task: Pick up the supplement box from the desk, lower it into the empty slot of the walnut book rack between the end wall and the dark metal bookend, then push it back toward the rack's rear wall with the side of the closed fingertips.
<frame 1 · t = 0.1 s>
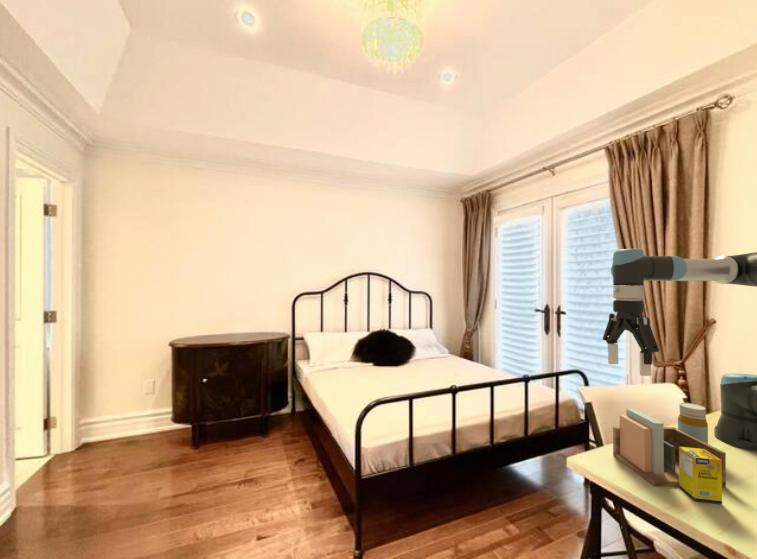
hand: (628, 369, 103), 28 cm above the table, fingers open, 13 cm apart
book rack: (664, 469, 98), on the table
bottle: (692, 453, 108), on the table
supplement box: (699, 496, 86), on the table
shelved books: (640, 439, 100), point 8 cm above the table
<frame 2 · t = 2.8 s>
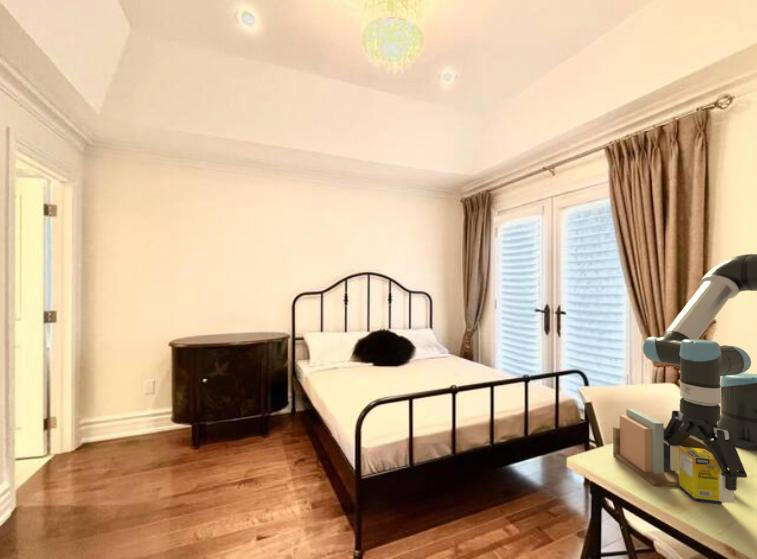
hand: (699, 484, 86), 3 cm above the table, fingers open, 13 cm apart
nothing on the table moved.
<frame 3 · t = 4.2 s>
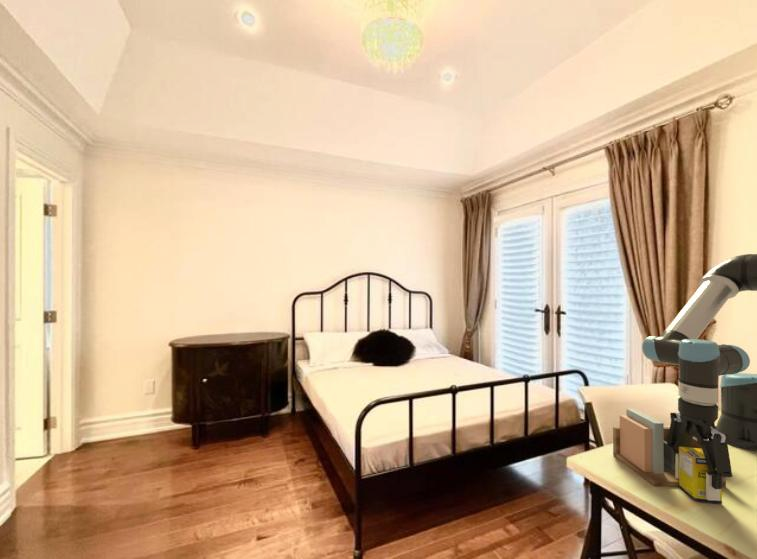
hand: (696, 488, 87), 1 cm above the table, fingers open, 8 cm apart
supplement box: (699, 496, 86), on the table, touching gripper
everything else where it was.
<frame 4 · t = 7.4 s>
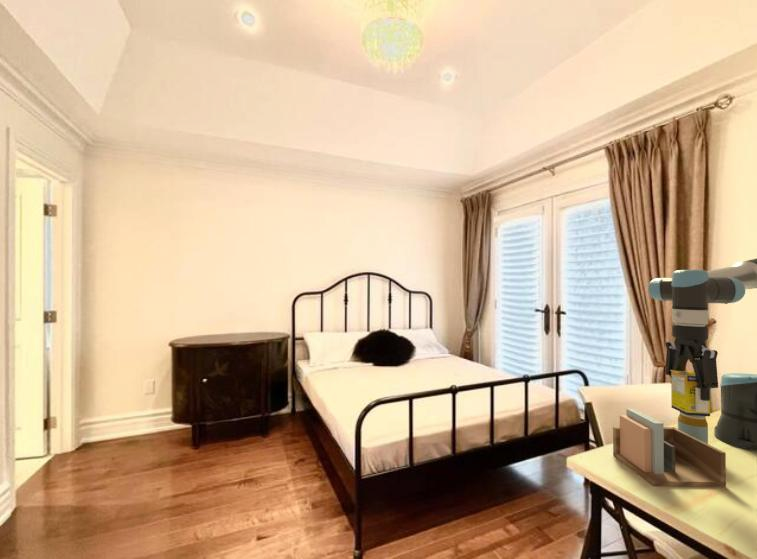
hand: (689, 406, 95), 20 cm above the table, fingers closed on supplement box, 6 cm apart
supplement box: (690, 412, 95), point 18 cm above the table, touching gripper
everything else where it was.
when the fingers open (3 cm above the table, at t = 10.1 s): supplement box stays where it is, resting on book rack.
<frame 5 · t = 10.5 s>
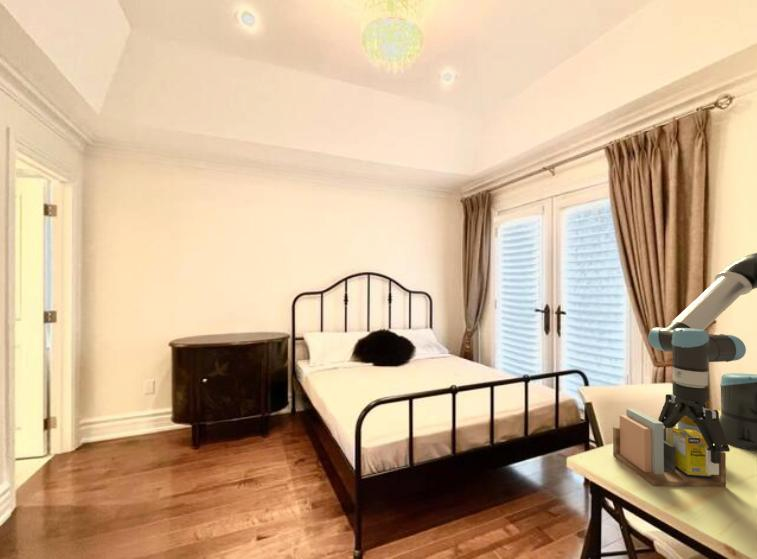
hand: (690, 461, 95), 4 cm above the table, fingers open, 12 cm apart
supplement box: (691, 473, 95), point 1 cm above the table, touching book rack
everything else where it was.
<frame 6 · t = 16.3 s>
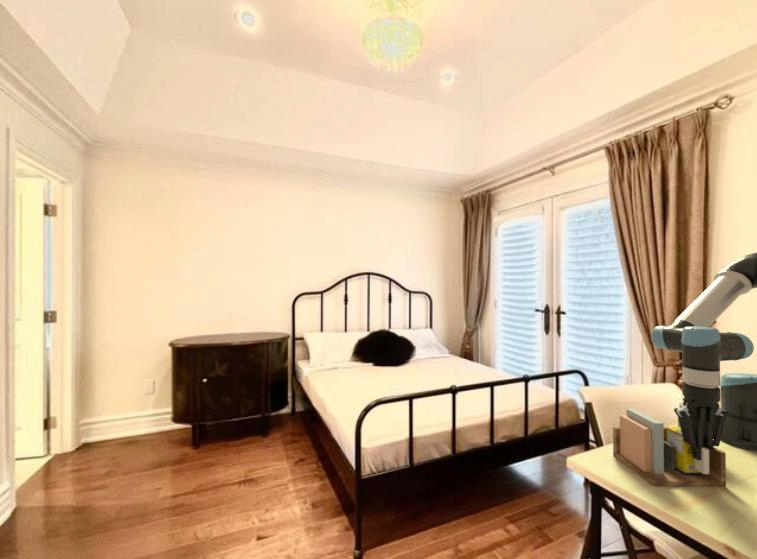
hand: (701, 471, 92), 3 cm above the table, fingers closed
supplement box: (685, 470, 96), point 1 cm above the table, touching gripper
everything else where it was.
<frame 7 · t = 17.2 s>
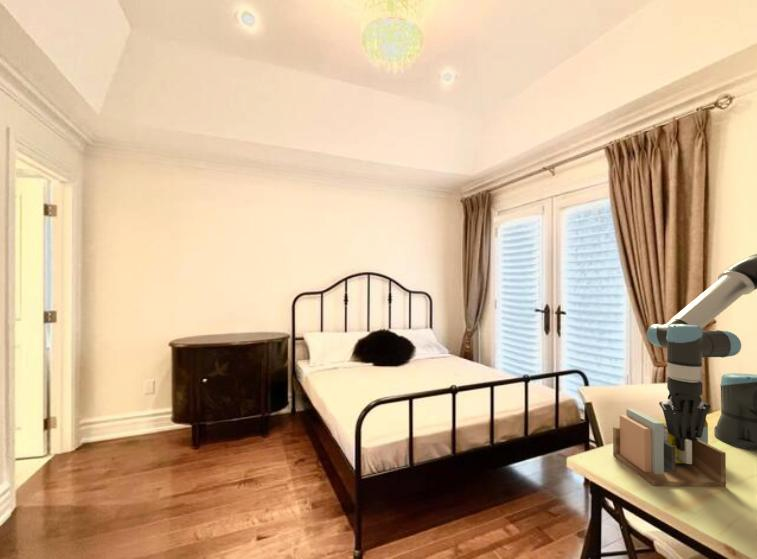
hand: (685, 461, 97), 3 cm above the table, fingers closed
supplement box: (671, 461, 101), point 1 cm above the table, touching book rack, gripper
everything else where it was.
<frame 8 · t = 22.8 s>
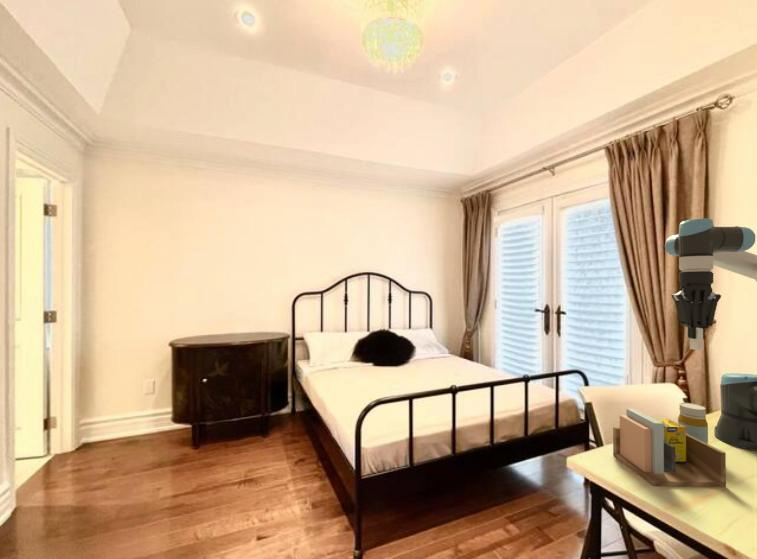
hand: (696, 349, 102), 34 cm above the table, fingers closed
supplement box: (668, 459, 102), point 1 cm above the table, touching book rack
everything else where it was.
at the end: supplement box inside the target area on the book rack (1.0 cm from its centre), point 1.0 cm above the book rack's base; supplement box tilted 0°; the gripper is holding nothing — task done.
